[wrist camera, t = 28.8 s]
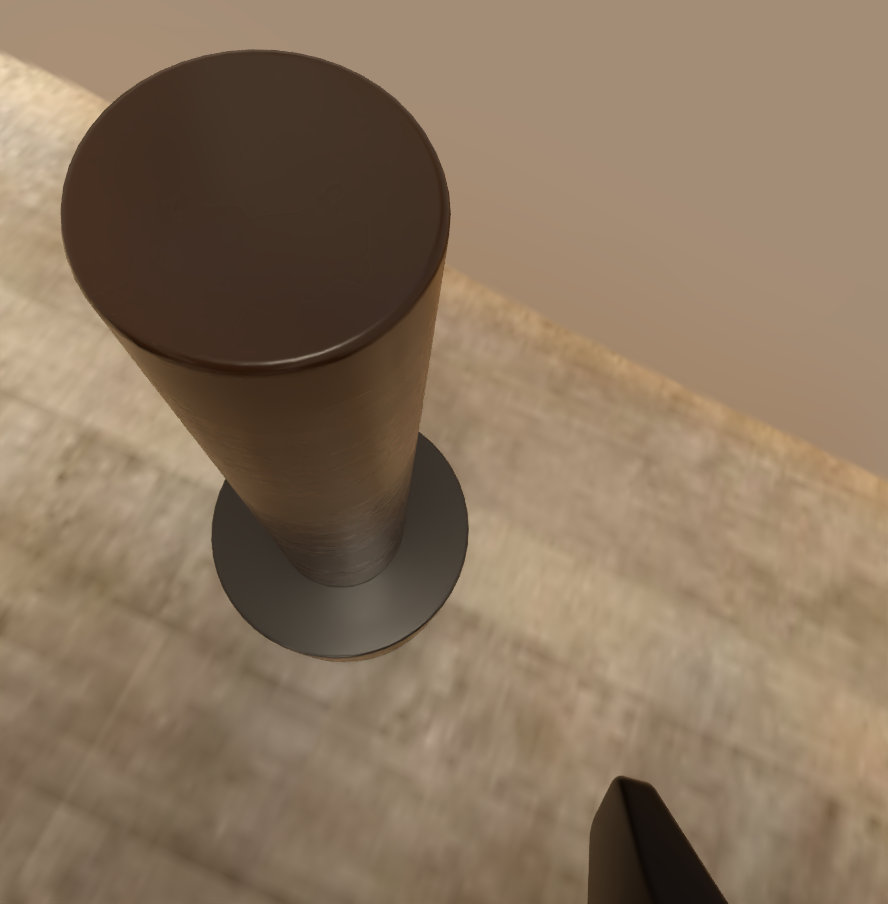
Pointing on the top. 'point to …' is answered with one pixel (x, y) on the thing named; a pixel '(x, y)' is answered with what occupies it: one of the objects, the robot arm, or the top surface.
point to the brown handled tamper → (285, 329)
